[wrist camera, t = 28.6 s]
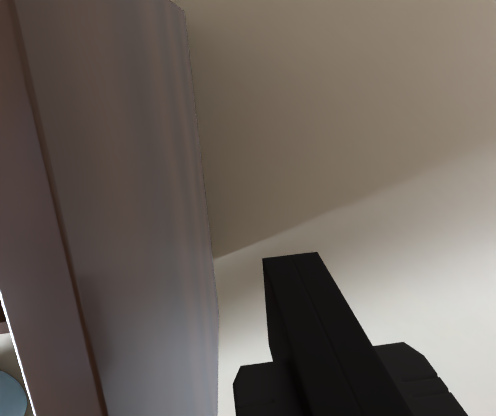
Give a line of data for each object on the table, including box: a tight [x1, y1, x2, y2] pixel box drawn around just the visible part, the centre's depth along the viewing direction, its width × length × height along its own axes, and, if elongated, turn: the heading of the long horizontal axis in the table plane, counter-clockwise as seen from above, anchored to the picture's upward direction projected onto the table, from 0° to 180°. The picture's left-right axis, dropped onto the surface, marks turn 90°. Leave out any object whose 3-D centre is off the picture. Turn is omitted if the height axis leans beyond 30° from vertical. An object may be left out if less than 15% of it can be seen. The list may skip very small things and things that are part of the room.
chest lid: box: [0, 0, 219, 416], centre depth 16 cm, size 20×17×1 cm
